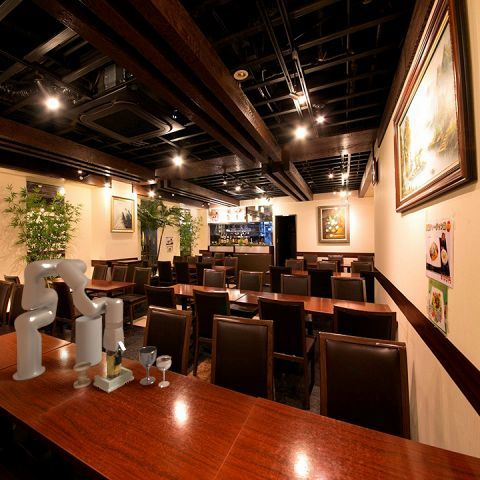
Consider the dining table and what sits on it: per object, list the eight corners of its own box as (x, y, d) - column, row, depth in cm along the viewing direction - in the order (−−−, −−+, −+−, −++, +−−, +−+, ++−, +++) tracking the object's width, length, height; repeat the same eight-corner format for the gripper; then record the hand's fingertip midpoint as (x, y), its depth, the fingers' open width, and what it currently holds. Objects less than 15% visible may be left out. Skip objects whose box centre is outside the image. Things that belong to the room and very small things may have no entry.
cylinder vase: (103, 356, 147) (103, 314, 148) (99, 366, 135) (99, 320, 136) (79, 359, 143) (79, 316, 144) (72, 370, 132) (72, 322, 132)
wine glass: (135, 383, 119) (135, 351, 119) (147, 375, 127) (147, 345, 127) (148, 386, 116) (148, 354, 116) (159, 378, 124) (159, 347, 124)
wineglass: (167, 389, 115) (167, 362, 115) (153, 387, 116) (153, 361, 116) (173, 381, 121) (173, 356, 121) (160, 379, 123) (160, 354, 123)
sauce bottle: (115, 380, 117) (115, 337, 117) (103, 378, 118) (103, 336, 118) (124, 372, 123) (124, 332, 123) (113, 371, 124) (113, 331, 125)
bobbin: (70, 385, 117) (70, 366, 117) (86, 378, 123) (86, 360, 123) (78, 390, 114) (78, 370, 114) (93, 382, 120) (94, 364, 120)
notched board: (93, 384, 118) (93, 376, 118) (119, 372, 129) (119, 364, 129) (108, 392, 112) (108, 383, 112) (134, 379, 123) (134, 370, 123)
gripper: (96, 324, 122) (96, 361, 122) (117, 330, 113) (117, 370, 113) (111, 320, 128) (110, 355, 128) (132, 325, 119) (132, 363, 119)
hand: (114, 362), depth 121 cm, fingers closed on sauce bottle, 6 cm apart
